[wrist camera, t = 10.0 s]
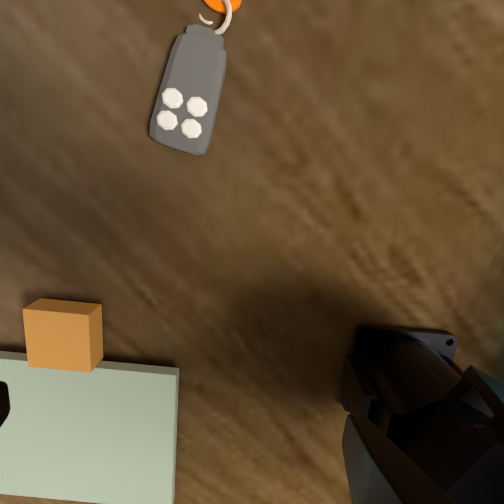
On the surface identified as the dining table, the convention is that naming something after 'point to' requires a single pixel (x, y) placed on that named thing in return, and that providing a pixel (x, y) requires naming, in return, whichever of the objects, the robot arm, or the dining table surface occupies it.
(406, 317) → the dining table surface
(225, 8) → the key chain
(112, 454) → the lid
